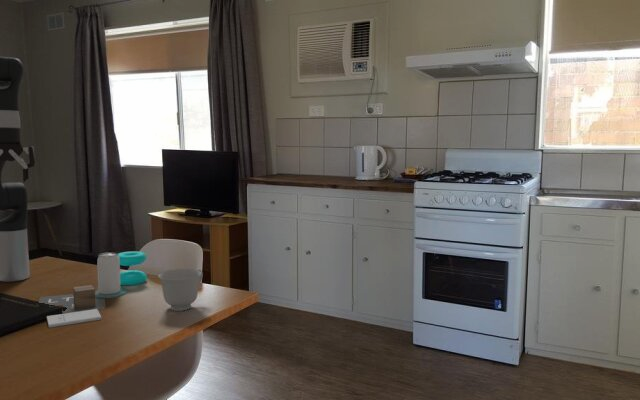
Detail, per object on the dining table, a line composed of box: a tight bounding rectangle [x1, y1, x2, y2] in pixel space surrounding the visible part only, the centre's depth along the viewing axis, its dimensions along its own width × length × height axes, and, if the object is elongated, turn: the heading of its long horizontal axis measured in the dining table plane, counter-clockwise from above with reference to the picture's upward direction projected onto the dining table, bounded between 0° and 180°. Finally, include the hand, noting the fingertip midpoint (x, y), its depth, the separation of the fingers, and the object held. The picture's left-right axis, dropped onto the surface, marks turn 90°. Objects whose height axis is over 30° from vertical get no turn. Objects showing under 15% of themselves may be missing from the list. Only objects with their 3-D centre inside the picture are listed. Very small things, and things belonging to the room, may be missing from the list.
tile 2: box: [61, 298, 106, 314], centre depth 149 cm, size 11×11×1 cm
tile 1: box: [38, 293, 74, 307], centre depth 153 cm, size 11×11×1 cm
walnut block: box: [72, 284, 96, 309], centre depth 149 cm, size 5×5×5 cm
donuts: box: [118, 250, 148, 286], centre depth 174 cm, size 10×10×10 cm
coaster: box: [95, 287, 128, 299], centre depth 161 cm, size 10×10×1 cm
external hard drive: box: [46, 309, 102, 328], centre depth 137 cm, size 2×8×12 cm
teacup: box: [157, 268, 204, 312], centre depth 148 cm, size 12×15×10 cm
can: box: [96, 252, 122, 295], centre depth 160 cm, size 6×6×12 cm
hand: (8, 181), depth 153 cm, fingers open, 8 cm apart
